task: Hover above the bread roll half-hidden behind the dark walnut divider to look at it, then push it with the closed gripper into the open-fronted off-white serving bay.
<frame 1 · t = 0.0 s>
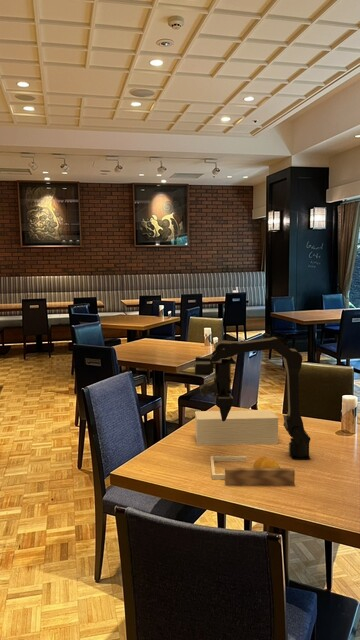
hand: (222, 417, 176), 15 cm above the table, tool pointing down, fingers open, 9 cm apart
walnut divider: (259, 484, 154), on the table
serving bay: (231, 469, 166), on the table
bread roll: (266, 470, 165), on the table
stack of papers: (235, 440, 194), on the table
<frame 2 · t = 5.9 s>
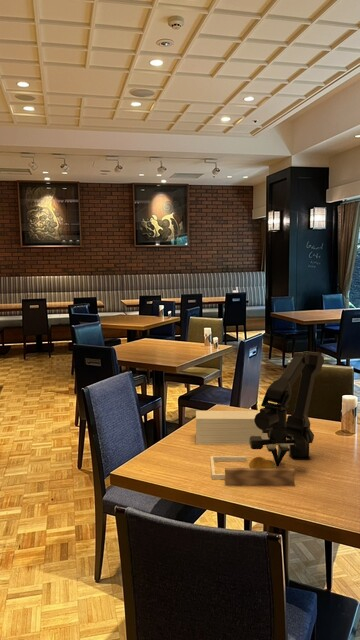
hand: (277, 466, 165), 1 cm above the table, tool pointing down, fingers closed
bread roll: (261, 470, 166), on the table, touching gripper
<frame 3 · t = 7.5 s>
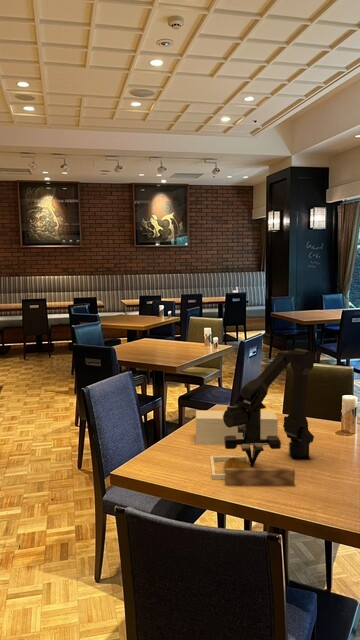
hand: (251, 466, 165), 1 cm above the table, tool pointing down, fingers closed
bread roll: (236, 471, 165), on the table, touching gripper
everything else where it was.
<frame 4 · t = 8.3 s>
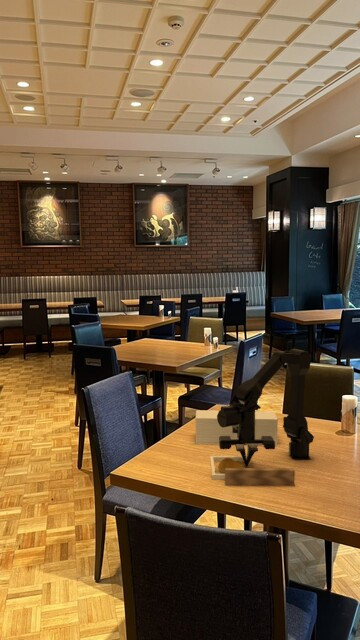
hand: (246, 466, 165), 1 cm above the table, tool pointing down, fingers closed
bread roll: (231, 471, 165), on the table, touching gripper
everything else where it was.
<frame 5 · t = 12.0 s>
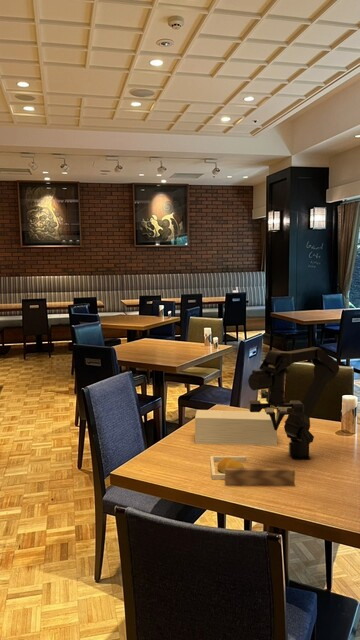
hand: (275, 429, 170), 12 cm above the table, tool pointing down, fingers closed
bread roll: (230, 471, 165), on the table
at the end: bread roll inside the target area (0.6 cm from its centre), on the table; bread roll moved 12.4 cm from its start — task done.
